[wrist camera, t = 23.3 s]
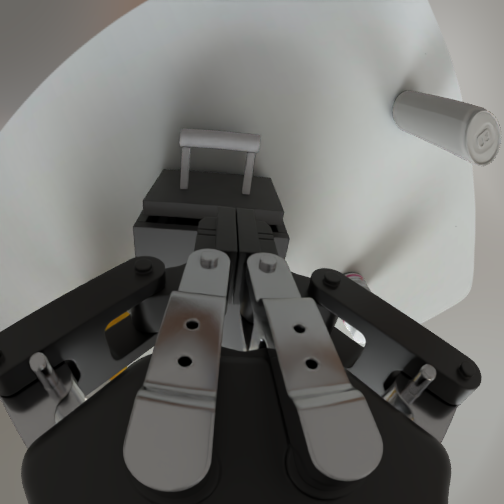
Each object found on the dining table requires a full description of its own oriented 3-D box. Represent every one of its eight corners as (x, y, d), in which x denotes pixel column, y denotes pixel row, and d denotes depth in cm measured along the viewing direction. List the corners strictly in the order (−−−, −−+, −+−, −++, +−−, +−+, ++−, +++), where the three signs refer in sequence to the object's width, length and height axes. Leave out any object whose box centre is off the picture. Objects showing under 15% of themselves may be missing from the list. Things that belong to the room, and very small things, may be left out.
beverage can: (430, 118, 25) (507, 148, 15) (403, 140, 27) (475, 179, 17) (411, 82, 23) (491, 98, 13) (381, 104, 25) (457, 127, 15)
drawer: (166, 119, 24) (142, 134, 17) (278, 129, 25) (296, 147, 19) (164, 273, 33) (152, 321, 27) (253, 279, 35) (259, 329, 28)
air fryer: (159, 182, 28) (132, 226, 20) (272, 191, 30) (289, 238, 22) (162, 286, 35) (148, 346, 27) (254, 293, 37) (261, 353, 29)
